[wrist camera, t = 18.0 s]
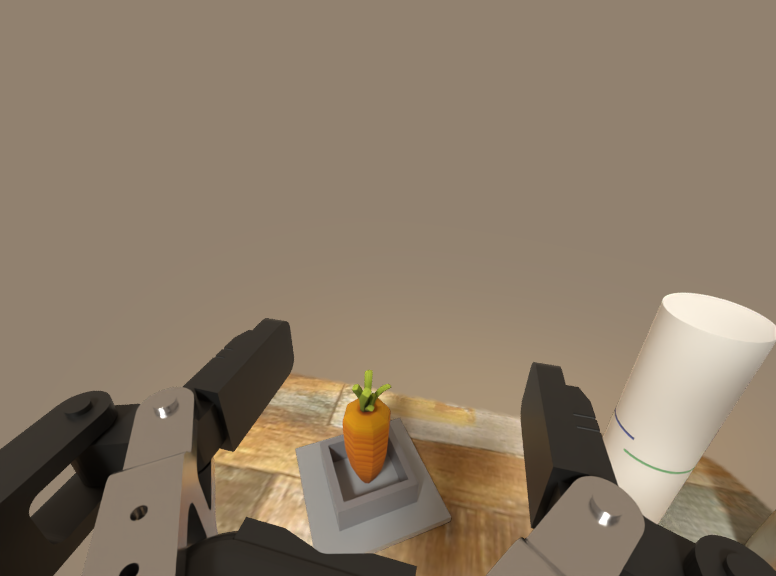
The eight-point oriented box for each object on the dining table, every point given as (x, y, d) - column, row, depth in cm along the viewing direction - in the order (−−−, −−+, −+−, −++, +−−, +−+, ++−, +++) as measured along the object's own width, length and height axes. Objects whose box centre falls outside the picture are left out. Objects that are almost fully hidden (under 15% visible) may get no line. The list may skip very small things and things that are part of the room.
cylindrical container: (619, 471, 44) (710, 289, 32) (671, 533, 38) (807, 337, 26) (567, 481, 43) (641, 296, 31) (610, 547, 36) (725, 347, 25)
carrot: (360, 455, 44) (358, 357, 37) (396, 473, 42) (401, 373, 35) (336, 489, 40) (329, 386, 33) (375, 511, 38) (376, 406, 31)
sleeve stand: (399, 422, 50) (400, 400, 48) (450, 521, 38) (454, 498, 36) (296, 452, 45) (292, 430, 43) (318, 576, 34) (315, 553, 32)
